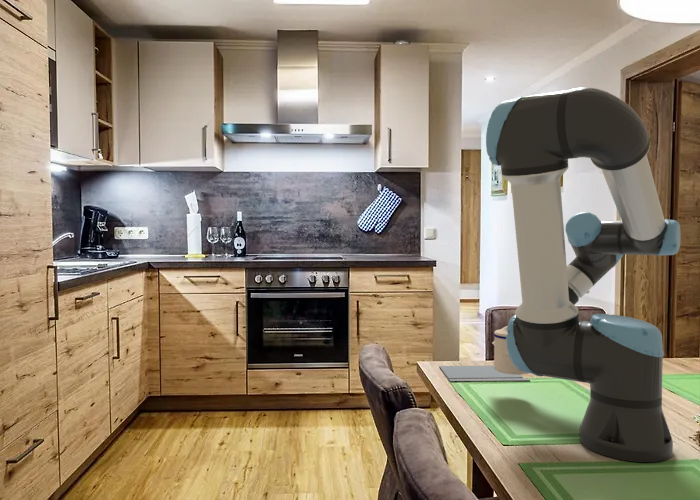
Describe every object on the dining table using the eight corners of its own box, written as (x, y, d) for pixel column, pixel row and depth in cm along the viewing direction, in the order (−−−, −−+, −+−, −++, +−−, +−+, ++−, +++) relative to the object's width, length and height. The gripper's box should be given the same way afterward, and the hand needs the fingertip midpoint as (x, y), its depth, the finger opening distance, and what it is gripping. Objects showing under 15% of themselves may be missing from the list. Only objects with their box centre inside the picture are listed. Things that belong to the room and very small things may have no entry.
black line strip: (530, 381, 141) (530, 380, 141) (450, 382, 141) (450, 380, 141) (527, 379, 143) (527, 378, 143) (448, 379, 143) (448, 378, 143)
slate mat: (523, 378, 144) (523, 377, 144) (448, 379, 144) (448, 377, 144) (507, 366, 157) (507, 365, 157) (439, 367, 157) (439, 366, 157)
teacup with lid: (531, 377, 123) (531, 326, 123) (490, 372, 127) (491, 323, 127) (534, 365, 134) (535, 319, 134) (497, 362, 138) (498, 316, 138)
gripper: (602, 305, 119) (531, 375, 119) (558, 294, 142) (499, 352, 142) (578, 280, 119) (507, 350, 118) (538, 274, 142) (479, 332, 142)
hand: (503, 352), depth 130 cm, fingers closed on teacup with lid, 11 cm apart
